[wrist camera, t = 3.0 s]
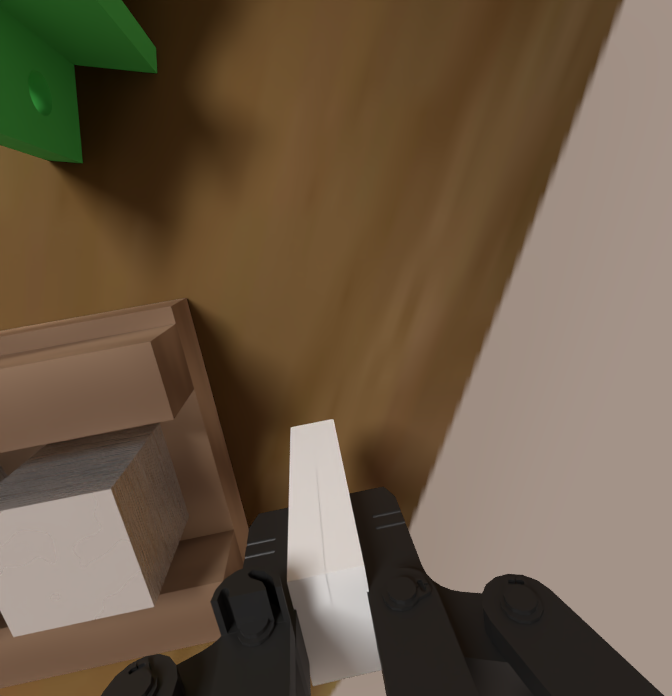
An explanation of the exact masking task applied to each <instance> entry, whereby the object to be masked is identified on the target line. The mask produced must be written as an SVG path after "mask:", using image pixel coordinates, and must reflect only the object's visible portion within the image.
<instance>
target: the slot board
mask: <svg viewBox="0 0 672 696" xmlns="http://www.w3.org/2000/svg"><path fill="white" fill-rule="evenodd" d="M156 423H160V425H161V429H162V432H163V435H164V438H165V441H166V444H167V448H168V451H169V454H170V457H171V460H172V463H173V467H174V470H175V473H176V476H177V479H178V483H179V486H180V489H181V492H182V495H183V498H184V502H185V505H186V508H187V511H188V514H189V518H188V520H187V523H186V526H185V528H184V531H183V533H182V536H181V539H180V541H179V544H178V546H177V549H176V552H175V554H174V557H173V559H172V562H171V565H170V567H169V570H168V572H167V575H166V578H165V580H164V583H163V586H162V588H161V591H160V593H159V596H158V599H157V601H156V604H155V606H154V607H151V608H147V609H142V610H137V611H133V612H128V613H123V614H119V615H114V616H109V617H105V618H100V619H95V620H91V621H86V622H82V623H77V624H72V625H68V626H63V627H58V628H54V629H49V630H44V631H40V632H35V633H30V634H26V635H21V636H16V637H13V635H12V633H11V631H10V629H9V627H8V625H7V623H6V621H5V619H4V617H3V615H2V613H1V611H0V688H4V687H9V686H13V685H18V684H22V683H27V682H31V681H36V680H40V679H45V678H49V677H54V676H58V675H63V674H67V673H72V672H76V671H81V670H86V669H90V668H95V667H99V666H104V665H108V664H113V663H117V662H122V661H126V660H131V659H135V658H140V657H144V656H149V655H153V654H158V653H163V652H167V651H172V650H176V649H181V648H185V647H190V646H194V645H199V644H203V643H208V642H212V641H217V640H218V639H219V638H220V637H221V634H220V630H219V627H218V624H217V621H216V618H215V615H214V612H213V609H212V606H211V602H210V601H211V599H212V597H213V594H214V592H215V590H216V589H217V587H218V586H219V585H220V584H221V583H222V582H223V580H224V579H225V578H227V577H228V576H230V575H231V574H233V573H234V572H236V571H237V570H240V569H243V563H244V560H245V551H246V547H247V538H248V532H249V528H248V524H247V521H246V517H245V513H244V509H243V506H242V502H241V498H240V495H239V491H238V487H237V484H236V480H235V476H234V472H233V469H232V465H231V461H230V458H229V454H228V450H227V446H226V443H225V439H224V435H223V432H222V428H221V424H220V420H219V417H218V413H217V409H216V406H215V402H214V398H213V395H212V391H211V387H210V383H209V380H208V376H207V372H206V369H205V365H204V361H203V357H202V354H201V350H200V346H199V343H198V339H197V335H196V331H195V328H194V324H193V320H192V317H191V313H190V309H189V305H188V302H187V298H183V299H177V300H171V301H166V302H160V303H155V304H149V305H143V306H138V307H132V308H127V309H121V310H115V311H110V312H104V313H99V314H93V315H87V316H82V317H76V318H70V319H65V320H59V321H54V322H48V323H42V324H37V325H31V326H26V327H20V328H14V329H9V330H3V331H0V465H1V467H2V468H3V470H4V471H5V473H6V474H7V476H9V475H10V474H11V473H12V472H14V471H15V470H16V469H17V468H18V467H20V466H21V465H22V464H23V463H25V462H26V461H27V460H28V459H29V458H31V457H32V456H33V455H34V454H35V453H37V452H38V451H39V450H40V449H41V448H43V447H44V446H45V445H47V444H52V443H58V442H63V441H68V440H73V439H78V438H83V437H89V436H94V435H99V434H104V433H109V432H115V431H120V430H125V429H130V428H135V427H140V426H146V425H151V424H156Z"/></svg>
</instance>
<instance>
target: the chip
mask: <svg viewBox="0 0 672 696" xmlns="http://www.w3.org/2000/svg"><path fill="white" fill-rule="evenodd" d="M188 518H189V514H188V511H187V508H186V505H185V502H184V498H183V495H182V492H181V489H180V486H179V483H178V479H177V476H176V473H175V470H174V467H173V463H172V460H171V457H170V454H169V451H168V448H167V444H166V441H165V438H164V435H163V432H162V429H161V425H160V423H156V424H151V425H146V426H140V427H135V428H130V429H125V430H120V431H115V432H109V433H104V434H99V435H94V436H89V437H83V438H78V439H73V440H68V441H63V442H58V443H52V444H47V445H45V446H44V447H43V448H41V449H40V450H39V451H38V452H37V453H35V454H34V455H33V456H32V457H31V458H29V459H28V460H27V461H26V462H25V463H23V464H22V465H21V466H20V467H18V468H17V469H16V470H15V471H14V472H12V473H11V474H10V475H9V476H8V477H6V478H5V479H4V480H3V481H1V482H0V611H1V613H2V615H3V617H4V619H5V621H6V623H7V625H8V627H9V629H10V631H11V633H12V635H13V637H16V636H21V635H26V634H30V633H35V632H40V631H44V630H49V629H54V628H58V627H63V626H68V625H72V624H77V623H82V622H86V621H91V620H95V619H100V618H105V617H109V616H114V615H119V614H123V613H128V612H133V611H137V610H142V609H147V608H151V607H154V606H155V604H156V601H157V599H158V596H159V593H160V591H161V588H162V586H163V583H164V580H165V578H166V575H167V572H168V570H169V567H170V565H171V562H172V559H173V557H174V554H175V552H176V549H177V546H178V544H179V541H180V539H181V536H182V533H183V531H184V528H185V526H186V523H187V520H188Z"/></svg>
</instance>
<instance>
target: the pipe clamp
mask: <svg viewBox="0 0 672 696" xmlns="http://www.w3.org/2000/svg"><path fill="white" fill-rule="evenodd" d="M74 65H80V66H90V67H99V68H109V69H119V70H128V71H138V72H147V73H157V59H156V47H155V46H154V44H153V43H152V42H151V40H150V39H149V37H148V36H147V35H146V33H145V32H144V30H143V29H142V28H141V26H140V25H139V23H138V22H137V21H136V19H135V18H134V17H133V15H132V14H131V12H130V11H129V10H128V8H127V7H126V5H125V4H124V3H123V1H122V0H0V145H2V146H5V147H8V148H11V149H14V150H17V151H20V152H23V153H27V154H30V155H33V156H36V157H39V158H42V159H45V160H48V161H60V162H73V163H83V159H82V148H81V137H80V126H79V114H78V103H77V92H76V81H75V69H74Z"/></svg>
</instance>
